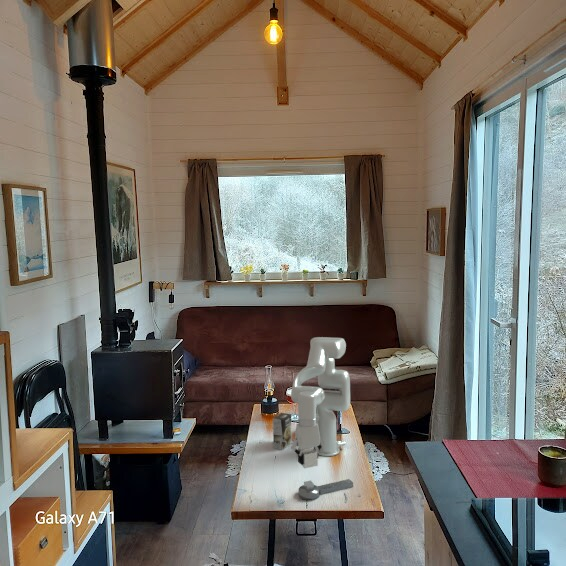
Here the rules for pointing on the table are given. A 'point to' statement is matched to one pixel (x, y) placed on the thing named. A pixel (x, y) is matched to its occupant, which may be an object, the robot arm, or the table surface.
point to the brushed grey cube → (309, 458)
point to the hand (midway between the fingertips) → (308, 461)
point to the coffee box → (282, 431)
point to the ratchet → (321, 489)
